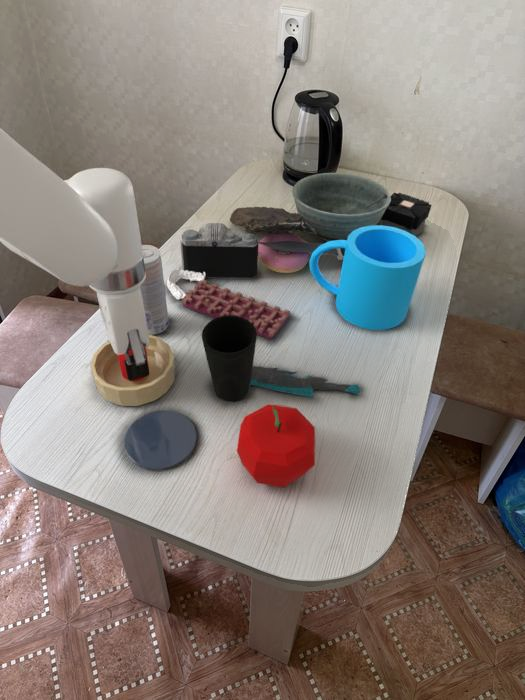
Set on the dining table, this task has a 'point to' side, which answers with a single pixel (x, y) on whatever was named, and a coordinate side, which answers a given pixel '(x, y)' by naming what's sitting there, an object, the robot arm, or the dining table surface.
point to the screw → (378, 200)
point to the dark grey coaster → (160, 440)
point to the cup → (230, 355)
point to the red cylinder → (122, 364)
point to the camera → (219, 252)
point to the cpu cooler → (406, 213)
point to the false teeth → (179, 273)
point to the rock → (270, 220)
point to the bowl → (339, 203)
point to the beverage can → (154, 291)
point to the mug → (374, 275)
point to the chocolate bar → (236, 308)
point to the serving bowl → (134, 391)
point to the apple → (276, 445)
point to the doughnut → (282, 254)
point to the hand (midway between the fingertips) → (134, 365)
